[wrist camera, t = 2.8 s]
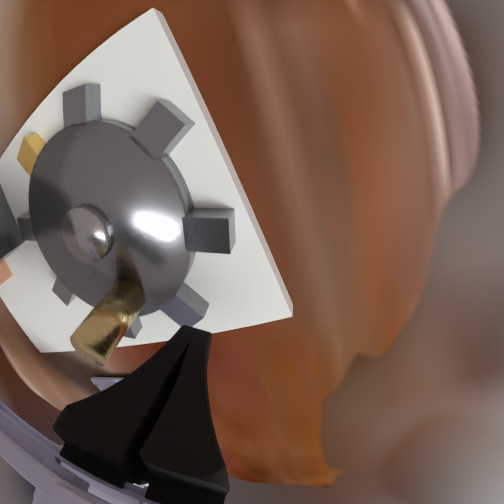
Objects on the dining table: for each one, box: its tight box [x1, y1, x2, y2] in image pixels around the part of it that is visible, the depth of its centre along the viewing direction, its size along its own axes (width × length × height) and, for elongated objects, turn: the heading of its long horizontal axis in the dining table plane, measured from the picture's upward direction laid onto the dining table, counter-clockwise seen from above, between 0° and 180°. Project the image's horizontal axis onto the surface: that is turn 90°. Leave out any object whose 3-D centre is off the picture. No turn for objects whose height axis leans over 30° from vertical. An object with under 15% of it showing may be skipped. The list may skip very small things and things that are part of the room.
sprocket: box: [16, 84, 236, 366], centre depth 11 cm, size 14×14×6 cm
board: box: [0, 8, 293, 353], centre depth 16 cm, size 17×29×2 cm, turn 113°
